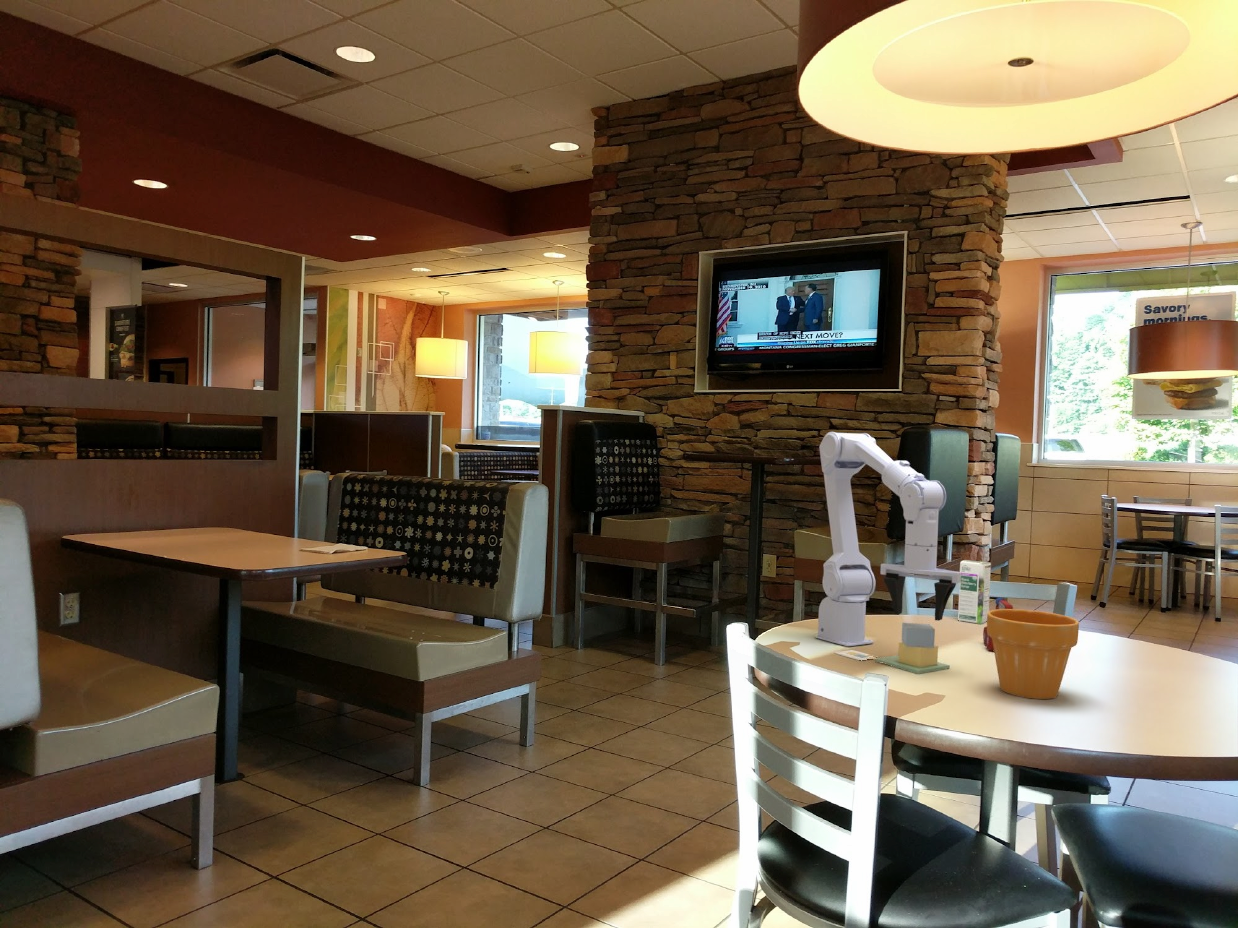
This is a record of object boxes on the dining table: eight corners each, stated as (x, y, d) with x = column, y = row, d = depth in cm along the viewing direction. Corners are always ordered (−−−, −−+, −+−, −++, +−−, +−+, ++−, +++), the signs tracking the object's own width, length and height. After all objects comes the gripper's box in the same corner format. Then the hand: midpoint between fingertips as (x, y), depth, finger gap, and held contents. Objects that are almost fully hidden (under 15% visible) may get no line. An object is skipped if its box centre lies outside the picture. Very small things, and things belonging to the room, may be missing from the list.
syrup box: (956, 620, 216) (959, 561, 215) (965, 617, 220) (967, 559, 220) (981, 624, 212) (983, 563, 212) (989, 621, 217) (991, 561, 216)
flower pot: (1062, 684, 158) (1065, 611, 158) (1087, 707, 144) (1090, 627, 144) (977, 678, 161) (980, 606, 160) (993, 699, 147) (996, 621, 147)
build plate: (875, 661, 171) (875, 658, 171) (906, 656, 176) (906, 653, 176) (918, 673, 163) (918, 670, 162) (949, 668, 167) (949, 665, 167)
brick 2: (898, 661, 169) (898, 642, 169) (915, 658, 172) (916, 640, 172) (919, 667, 165) (920, 648, 165) (937, 664, 168) (938, 645, 168)
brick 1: (901, 640, 171) (902, 622, 171) (928, 642, 171) (929, 624, 170) (906, 646, 166) (906, 627, 166) (934, 648, 166) (934, 629, 166)
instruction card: (834, 653, 177) (834, 651, 177) (852, 650, 180) (852, 649, 180) (861, 661, 171) (861, 659, 171) (879, 658, 174) (879, 657, 174)
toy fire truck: (1015, 644, 192) (1017, 595, 191) (1026, 657, 180) (1028, 605, 179) (980, 641, 193) (982, 593, 193) (989, 653, 181) (991, 602, 181)
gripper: (967, 546, 167) (964, 619, 167) (891, 539, 175) (888, 608, 176) (955, 549, 161) (952, 624, 161) (877, 542, 170) (874, 613, 170)
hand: (918, 616), depth 168 cm, fingers open, 7 cm apart
